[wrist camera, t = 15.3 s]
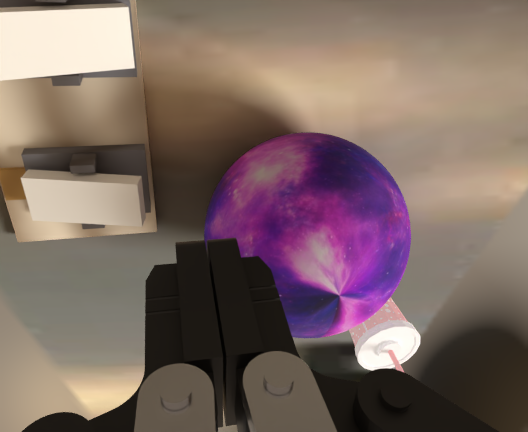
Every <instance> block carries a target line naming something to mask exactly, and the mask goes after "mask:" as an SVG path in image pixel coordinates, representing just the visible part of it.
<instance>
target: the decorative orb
mask: <svg viewBox="0 0 528 432" xmlns="http://www.w3.org/2000/svg"><path fill="white" fill-rule="evenodd" d="M225 238H236V239H237V242H238V246H239V251H240V255H241V258H242V257H253V256H259V257H260V258H261V259H262V260H263V261H264V262H265V263H266V265H267V266H268V267H269V268H270V269H271V271H272V274H273V277H274V281H275V284H276V288H277V290H278V293H279V296H280V301H281V303H282V306H283V309H284V312H285V316H286V319H287V322H288V325H289V328H290V331H291V335H292V337H296V338H320V337H326V336H331V335H335V334H339V333H342V332H344V331H347V330H349V329H351V328H353V327H355V326H357V325H359V324H361V323H363V322H364V321H366V320H367V319H368V318H370V317H371V316H373V315H374V314H375V313H376V312H377V311H378V310H379V309H380V308H381V307H382V306H383V305H384V304H385V303H386V302H387V301H388V299H389V298H390V297H391V295H392V294H393V293H394V291H395V289H396V288H397V286H398V284H399V282H400V280H401V278H402V276H403V274H404V271H405V268H406V265H407V261H408V257H409V251H410V244H411V230H410V220H409V215H408V210H407V206H406V203H405V201H404V198H403V195H402V193H401V191H400V189H399V187H398V185H397V184H396V182H395V180H394V179H393V177H392V176H391V174H390V173H389V172H388V171H387V169H386V168H385V167H384V166H383V165H382V164H381V163H380V162H379V161H378V160H377V159H376V158H375V157H373V156H372V155H371V154H370V153H368V152H367V151H366V150H364V149H363V148H361V147H359V146H357V145H356V144H354V143H352V142H349V141H347V140H345V139H342V138H339V137H336V136H332V135H327V134H322V133H293V134H287V135H283V136H279V137H275V138H272V139H270V140H267V141H265V142H263V143H261V144H259V145H257V146H255V147H254V148H252V149H251V150H249V151H248V152H246V153H245V154H244V155H242V156H241V157H240V158H239V159H238V160H237V161H236V162H235V163H234V164H233V165H232V166H231V167H230V168H229V169H228V170H227V171H226V173H225V174H224V175H223V177H222V178H221V180H220V182H219V183H218V185H217V187H216V189H215V191H214V193H213V195H212V198H211V200H210V203H209V206H208V210H207V215H206V219H205V231H204V240H205V244H206V250H207V240H212V239H225Z"/></svg>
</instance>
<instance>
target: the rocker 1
mask: <svg viewBox="0 0 528 432" xmlns="http://www.w3.org/2000/svg"><path fill="white" fill-rule="evenodd" d="M131 68H135V65H134V56H133V46H132V36H131V27H130V17H129V7H128V6H126V5H125V4H124V3H113V4H86V5H59V6H32V7H5V8H0V81H3V80H13V79H24V78H35V77H45V76H56V75H67V74H77V73H88V72H99V71H109V70H120V69H131Z"/></svg>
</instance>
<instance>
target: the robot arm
mask: <svg viewBox="0 0 528 432" xmlns="http://www.w3.org/2000/svg"><path fill="white" fill-rule="evenodd" d="M176 258H177V263H175V264H164V265H155V266H154V268H153V269H152V271H151V273H150V274H149V276H148V278H147V280H146V306H145V313H146V316H145V372H144V377H143V380H142V382H141V384H140V386H139V388H138V389H137V391H136V392H135V393H134V394H133V396H132V397H131V398H129V399H128V400H127V401H126V402H125V403H123V404H122V405H120V406H119V407H117V408H115V409H113V410H111V411H109V412H107V413H104V414H102V415H100V416H98V417H95V418H93V419H91V420H89V421H88V420H87V419H86V418H84V417H83V416H81V415H78V414H75V413H69V412H61V413H54V414H51V415H47V416H45V417H42V418H40V419H39V420H37V421H35V422H33V423H32V424H30V425H29V426H28V427H26V428H25V429H24V430H23V431H22V432H218V427H223V409H224V416H225V424H226V426H230V425H236V424H237V429H238V432H499V431H497V430H496V429H494V428H492V427H491V426H489V425H488V424H486V423H484V422H483V421H481V420H480V419H478V418H477V417H475V416H473V415H472V414H470V413H469V412H467V411H465V410H464V409H462V408H461V407H459V406H458V405H456V404H454V403H453V402H451V401H449V400H448V399H446V398H445V397H443V396H442V395H440V394H438V393H437V392H435V391H434V390H432V389H431V388H429V387H427V386H426V385H424V384H423V383H421V382H420V381H418V380H416V379H415V378H413V377H412V376H410V375H408V374H406V373H404V372H402V371H399V370H395V369H389V368H381V369H375V370H373V371H370V372H369V373H367V374H366V375H365V376H364V377H363V378H362V379H361V381H360V382H356V381H350V380H344V379H337V378H332V377H328V376H325V375H322V374H320V373H318V372H316V371H314V370H313V369H311V368H310V367H309V366H308V365H307V364H306V363H305V362H304V361H303V360H302V359H301V358H300V356H299V354H298V352H297V350H296V347H295V344H294V341H293V338H292V335H291V331H290V328H289V325H288V322H287V319H286V316H285V312H284V309H283V306H282V303H281V301H280V296H279V293H278V290H277V288H276V284H275V281H274V277H273V274H272V271H271V269H270V268H269V267H268V266H267V265H266V263H265V262H264V261H263V260H262V259H261V258H260V257H259V256H253V257H242V258H241V255H240V251H239V246H238V242H237V239H236V238H225V239H212V240H207V250H206V244H205V240H201V241H189V242H176Z"/></svg>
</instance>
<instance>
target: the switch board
mask: <svg viewBox="0 0 528 432" xmlns="http://www.w3.org/2000/svg"><path fill="white" fill-rule="evenodd" d="M113 3H124V4H125V5H126V6H128V7H129V17H130V27H131V36H132V46H133V56H134V65H135V68H131V69H120V70H109V71H99V72H88V73H77V74H67V75H56V76H45V77H35V78H24V79H13V80H3V81H0V186H1V189H2V192H3V196H4V199H5V202H6V205H7V208H8V212H9V215H10V218H11V221H12V224H13V228H14V231H15V234H16V237H17V240H18V242H27V241H41V240H54V239H67V238H81V237H94V236H107V235H121V234H134V233H147V232H157V220H156V210H155V199H154V189H153V178H152V167H151V157H150V146H149V136H148V125H147V115H146V104H145V94H144V83H143V72H142V62H141V51H140V41H139V30H138V20H137V9H136V0H0V8H5V7H32V6H59V5H86V4H113ZM28 169H30V170H47V171H65V172H71V174H77V173H99V174H116V175H133V176H141V177H142V186H143V195H144V205H145V214H146V218H145V221H144V223H143V226H142V227H137V226H119V225H102V224H84V223H67V222H49V221H33V220H32V217H31V213H30V210H29V206H28V202H27V199H26V195H25V192H24V188H23V185H22V181H21V177H22V176H23V175H24V174H25V172H26V171H27V170H28Z"/></svg>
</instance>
